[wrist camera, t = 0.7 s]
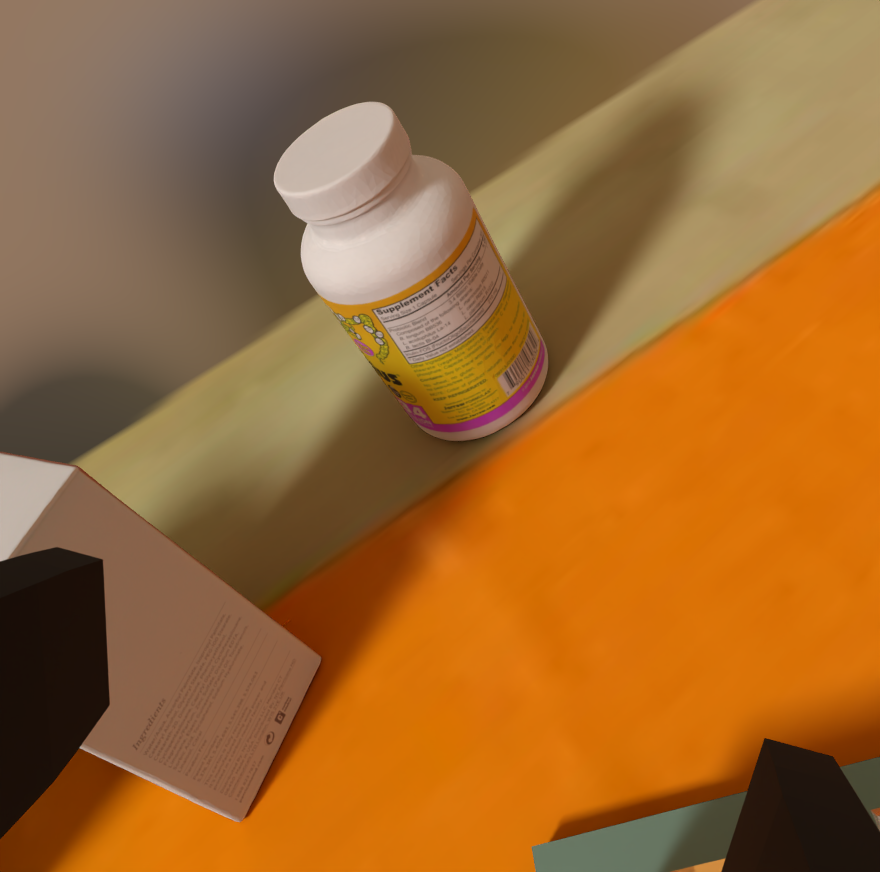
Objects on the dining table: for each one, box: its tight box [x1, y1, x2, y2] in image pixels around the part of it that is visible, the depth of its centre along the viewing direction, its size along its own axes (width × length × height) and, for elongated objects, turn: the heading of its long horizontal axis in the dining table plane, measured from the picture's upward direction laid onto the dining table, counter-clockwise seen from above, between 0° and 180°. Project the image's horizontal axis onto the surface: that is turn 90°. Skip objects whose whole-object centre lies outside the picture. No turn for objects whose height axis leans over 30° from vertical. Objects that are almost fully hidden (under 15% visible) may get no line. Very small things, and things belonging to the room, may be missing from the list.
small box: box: [0, 452, 321, 822], centre depth 28 cm, size 8×6×13 cm
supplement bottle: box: [274, 102, 548, 441], centre depth 32 cm, size 7×7×13 cm
